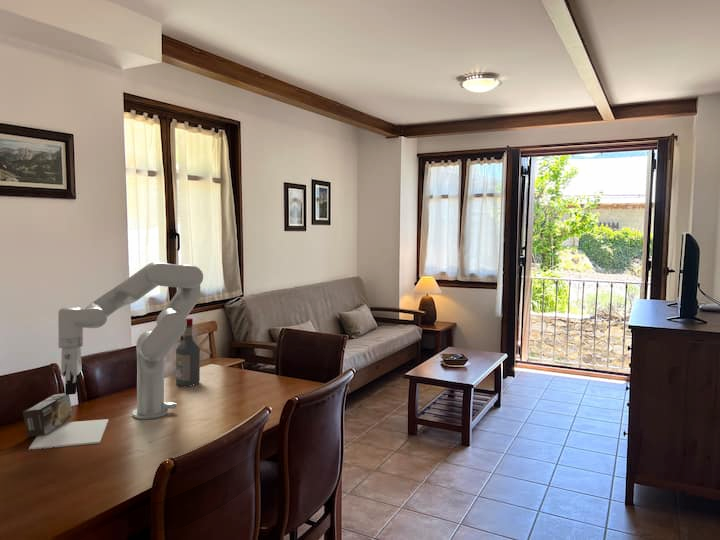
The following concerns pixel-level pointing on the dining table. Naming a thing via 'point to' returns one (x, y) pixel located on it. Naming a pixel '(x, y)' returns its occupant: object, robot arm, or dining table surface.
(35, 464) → the dining table surface
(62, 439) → the mat
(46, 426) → the coffee box
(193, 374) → the liquor
